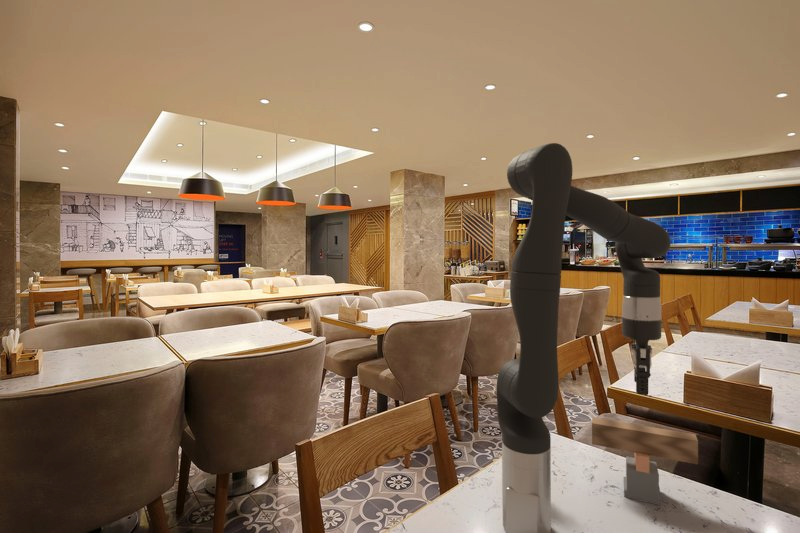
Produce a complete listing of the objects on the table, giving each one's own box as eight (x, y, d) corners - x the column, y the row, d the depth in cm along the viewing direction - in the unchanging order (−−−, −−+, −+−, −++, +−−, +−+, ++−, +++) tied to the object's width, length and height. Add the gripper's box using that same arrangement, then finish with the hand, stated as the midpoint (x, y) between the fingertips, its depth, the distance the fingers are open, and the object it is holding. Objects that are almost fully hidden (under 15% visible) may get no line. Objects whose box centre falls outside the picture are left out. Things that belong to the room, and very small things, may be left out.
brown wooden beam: (694, 456, 86) (695, 434, 86) (697, 464, 83) (698, 441, 83) (592, 437, 96) (592, 417, 96) (591, 444, 93) (591, 423, 93)
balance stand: (661, 505, 86) (661, 460, 85) (624, 496, 89) (624, 452, 89) (658, 490, 91) (658, 447, 91) (623, 482, 94) (623, 441, 94)
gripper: (665, 322, 81) (664, 401, 81) (658, 312, 93) (657, 381, 94) (622, 320, 84) (622, 395, 85) (621, 311, 97) (621, 377, 97)
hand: (640, 388), depth 89 cm, fingers open, 8 cm apart
